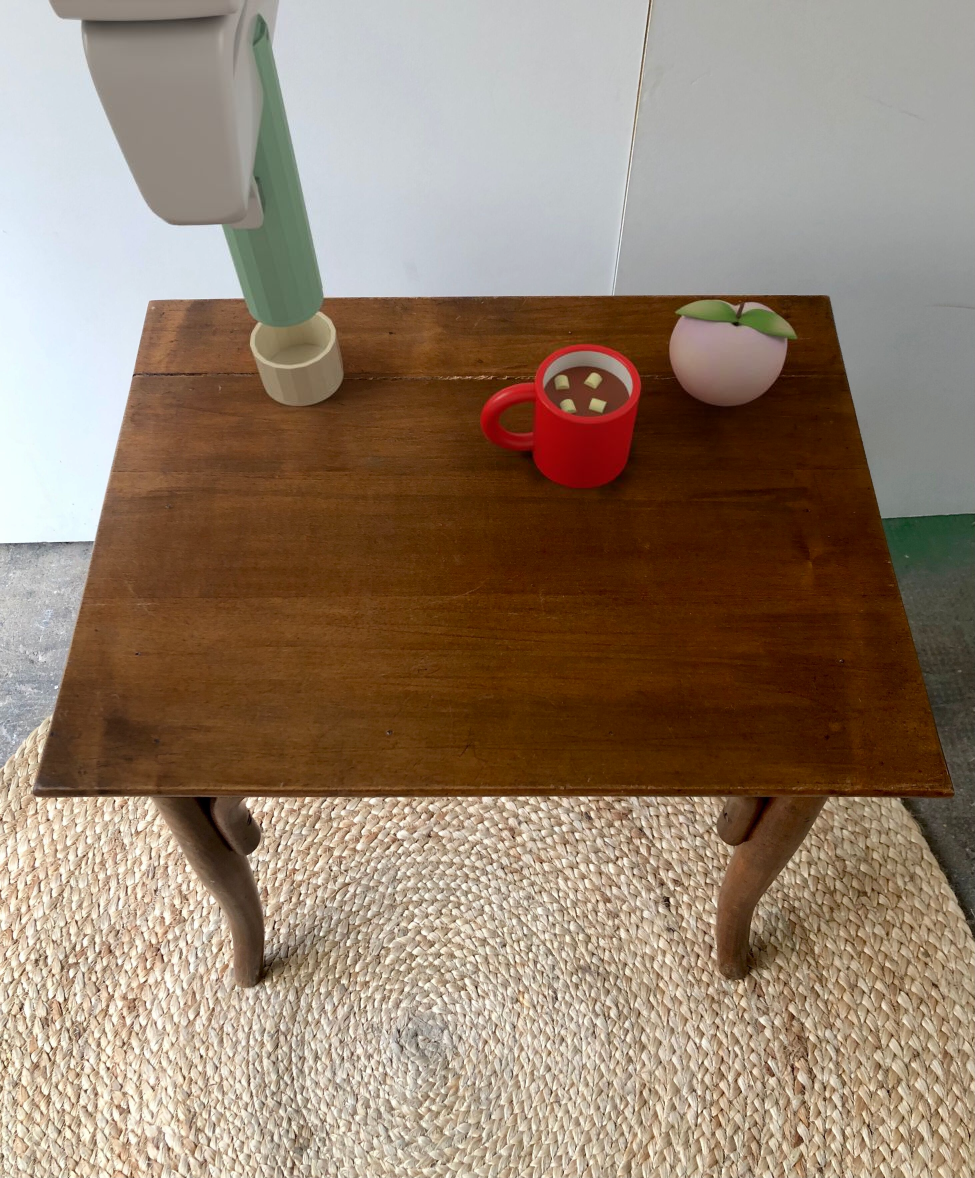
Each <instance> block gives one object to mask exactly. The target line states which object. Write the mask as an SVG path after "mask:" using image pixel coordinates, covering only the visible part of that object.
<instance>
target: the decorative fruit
mask: <svg viewBox="0 0 975 1178" xmlns="http://www.w3.org/2000/svg"><path fill="white" fill-rule="evenodd" d="M674 314H676V315H679V316H680V317H679V319H678V321H677V322H676V324H675V326H674V328H673V330H672V333H671V336H670V341H669V360H670V364H671V367H672V371H673V373H674V375H675V377H676V379H677V381H678V382H679V384H680V386H681V387H682V388H683V389H684V391H685V392H687V394H689V395H690V396H691V397H693V398H694V399H696V400H699V401H700V402H702V403H706V404H709V405H713V406H718V407H734V406H735V407H736V406H741V405H744V404H747V403H750V402H751V401H753V400H755V399H758V398H759V397H760V396H762V395H763V394H765V393H766V392H767V391H768V390H769V388H771V386H772V385H773V384H774V383H775V382H776V380H777V379H778V377H779V376H780V374H781V372H782V370H783V366H784V364H785V361H786V356H787V351H788V340H797V339H798V336H797V334H796V332H795V329H793V327H792V326H791V325H790V323H789V322H788V321H786V320H785V319H784V318H783V317H782V316H781V315H779V314H777V313H776V312H775V311H773V310H772V309H771V308H769V306H766V305H764V304H762V303H760V302H756V301H755V302H754V301H749V302H745V301H740V303H739V304H737V305H733V304H732V303H729V302H727V301H724V300H720V299H702V300H696V301H694V302H691V303H688V304H685V305H683V306H682V307H680V308H679V309H677V310H676V311H674Z"/></svg>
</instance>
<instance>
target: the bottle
mask: <svg viewBox="0 0 975 1178" xmlns="http://www.w3.org/2000/svg"><path fill="white" fill-rule="evenodd" d="M252 48H253V52H254V56H255V60H256V64H257V68H258V72H259V76H260V80H261V84H262V88H263V103H264V104H263V110H262V117H261V123H260V130H259V136H258V143H257V150H256V156H255V163H254V169H253V175H254V177H259V179H260V183H261V186H262V191H263V196H264V198H265V213H264V219H263V225H262V226H261V227H260V228H257V229H234V228H232V227H230V226H229V225H228V224H220V226H221V227H222V231H223V235H224V237H225V241H226V244H227V247H228V250H229V254H230V256H231V260H232V263H233V267H234V269H235V274H236V276H237V280H238V282H239V286H240V289H241V293H242V296H243V299H244V302H245V304H246V307H247V309H248V312H249V314H250V315H251V317H252V318H253V319H255V320H256V321H257V322H260V323H262V324H265V325H268V326H272V327H290V326H295V325H298V324H301V323H303V322H305V321H307V320H309V319H310V318H312V317H313V316H314V315H315V314H316V313H317V312H318V311H319V312H320V310H321V307H322V306H323V303H324V298H325V297H324V296H325V295H324V291H323V289H324V288H323V287H324V286H323V283H322V282H323V281H322V278H321V272H320V268H319V264H318V260H317V259H318V258H317V253H316V248H315V244H314V240H313V235H312V231H311V225H310V219H309V215H308V211H307V207H306V201H305V196H304V193H303V188H302V183H301V178H300V174H299V168H298V164H297V159H296V155H295V150H294V145H293V140H292V135H291V131H290V126H289V121H288V116H287V112H286V107H285V103H284V98H283V92H282V88H281V84H280V79H279V75H278V69H277V64H276V60H275V59H276V58H275V55H274V50H273V44H272V45H271V40H270V36H269V31H268V26H267V24H266V22H265V20H264V19H263V17H262V15H261V14H259V13H258V18H257V23H256V29H255V35H254V41H253V47H252Z"/></svg>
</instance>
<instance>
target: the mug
mask: <svg viewBox="0 0 975 1178" xmlns="http://www.w3.org/2000/svg"><path fill="white" fill-rule="evenodd" d="M641 390H642V383H641V376H640V374H639V372H638V370H637V368H636V366H634V363H633V362H631V361H630V360H629V359H628V357H626V356H624V354H621V353H620V352H618V351H616V350H614V349H612V348H610V347H605V346H602V345H597V344H589V343H588V344H587V343H586V344H584V343H583V344H581V343H579V344H575V345H569V346H567V347H563V348H559V349H558V350H556V351H554V352H552V353H551V354H550V355H548V356H547V357H546V358H545V359H543V361H542V362H541V363H540V365H539V367H538V368H537V370H536V373H535V377H534V382H521V383H518V384H512V385H510V386H508V387H505V388H502V389H501V390H499V391H497V392H496V393H495V394H493V395H492V396H491V397H489V399H488V400H487V401H486V402H485V403H484V406H483V407H482V409H481V413H480V417H479V418H480V419H479V423H480V424H479V426H480V428H481V431H482V432H483V434H484V436H485V438H486V439H487V440H488V441H489V442H490V443H492V444H493V445H494V446H497V447H499V448H500V449H501V448H502V449H505V450H508V451H514V452H531V455H532V459H533V462H534V464H535V465H536V467H537V469H538V470H539V471H540V472H541V474H543V475H544V476H545V478H548V479H549V480H550V481H552V482H553V483H556V484H558V485H560V486H563V487H566V488H572V489H592V488H597V487H598V488H599V487H601V486H604V485H606V484H608V483H610V482H612V481H614V480H615V479H616V478H617V477H618V476H619V475H621V473H622V471H623V470H624V469H625V467H626V466H627V463H628V461H629V454H630V450H631V444H632V439H633V433H634V428H635V424H636V423H635V422H636V419H637V412H638V408H639V407H638V406H639V402H640V396H641ZM522 403H523V404H524V403H533V409H532V411H533V413H532V414H533V415H532V431H529V432H514V431H513V432H512V431H509V430H508V429H506V428H504V427H502V426H501V424H500V421H499V420H500V417H501V416H502V414H503V413H504V412H505V411H506V410H507V409H509V408H511V407H513V406H515V405H518V404H522Z"/></svg>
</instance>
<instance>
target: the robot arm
mask: <svg viewBox="0 0 975 1178" xmlns="http://www.w3.org/2000/svg"><path fill="white" fill-rule="evenodd" d="M48 3H49V4H50V6H51V8H52V10H53V12H54V13H55V15H56V16H57V17H58V18H59V19H62V20H71V21H80V31H81V40H82V46H83V51H84V56H85V60H86V64H87V68H88V71H89V73H90V77H91V80H92V83H93V85H94V88H95V91H96V93H97V95H98V98H99V99H98V100H99V101H100V104H101V106H102V109H103V111H104V113H105V116H106V118H107V121H108V123H109V125H110V128H111V131H112V132H113V135H114V137H115V139H116V142H117V144H118V146H119V149H120V150H121V154H122V156H123V158H124V160H125V163H126V165H127V166H128V169H129V172H130V173H131V175H132V178H133V180H134V182H135V184H136V186H137V188H138V190H139V192H140V194H141V196H142V199H143V200H144V202H145V204H146V205H147V207H148V209H149V210H150V211H151V212H152V213H153V214H155V216H157V217H158V218H159V219H160V220H161V221H163V222H164V223H167V224H168V225H172V226H181V227H182V226H185V227H186V226H216V225H221V224H228V225H229V226H230V227H232V228H234V229H257V228H260V227H261V226H262V225H263V219H264V213H265V198H264V196H263V191H262V186H261V183H260V179H259V177H254V175H253V169H254V163H255V156H256V150H257V143H258V136H259V130H260V123H261V117H262V110H263V104H264V103H263V88H262V84H261V80H260V76H259V72H258V68H257V64H256V60H255V56H254V52H253V48H252V47H253V41H254V35H255V29H256V23H257V18H258V13H259V14H261V15H262V17H263V19H264V20H265V22H266V24H267V26H268V31H269V36H270V40H271V45H272V46H273V45H274V44H273V43H274V39H275V38H274V37H275V30H276V24H277V17H278V11H279V5H280V0H48Z"/></svg>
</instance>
